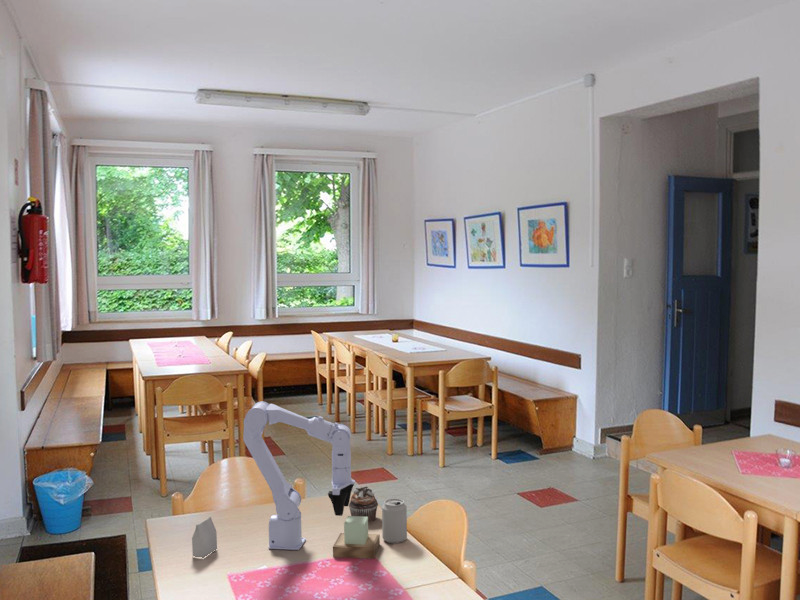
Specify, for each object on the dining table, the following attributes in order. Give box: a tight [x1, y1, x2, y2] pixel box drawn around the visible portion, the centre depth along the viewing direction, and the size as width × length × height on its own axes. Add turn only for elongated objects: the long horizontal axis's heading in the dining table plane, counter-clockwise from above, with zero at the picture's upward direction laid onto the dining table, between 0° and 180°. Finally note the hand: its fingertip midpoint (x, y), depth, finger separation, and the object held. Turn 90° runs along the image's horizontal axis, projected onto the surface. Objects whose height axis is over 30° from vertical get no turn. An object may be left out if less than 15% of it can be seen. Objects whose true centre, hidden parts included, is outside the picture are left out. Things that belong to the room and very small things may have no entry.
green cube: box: [343, 515, 369, 545], centre depth 208 cm, size 6×6×6 cm
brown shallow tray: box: [332, 532, 381, 560], centre depth 208 cm, size 12×10×3 cm
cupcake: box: [348, 486, 379, 523], centre depth 233 cm, size 10×10×10 cm
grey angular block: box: [191, 516, 218, 558], centre depth 207 cm, size 4×7×10 cm, turn 160°
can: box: [381, 498, 408, 544], centre depth 215 cm, size 8×8×12 cm
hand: (341, 510), depth 212 cm, fingers open, 7 cm apart
